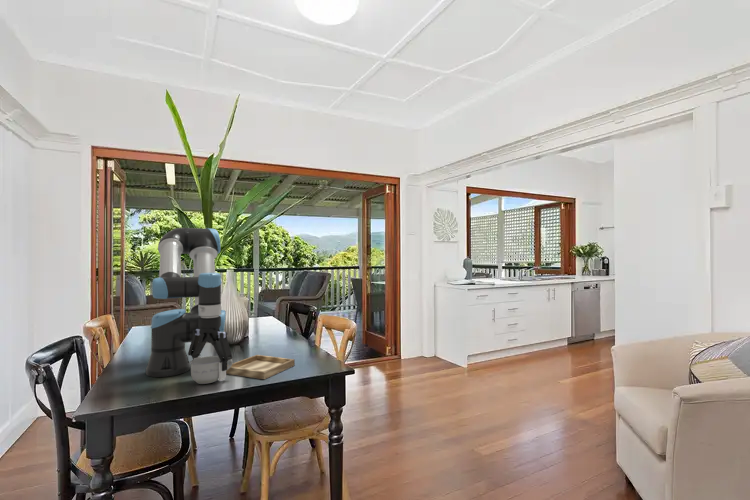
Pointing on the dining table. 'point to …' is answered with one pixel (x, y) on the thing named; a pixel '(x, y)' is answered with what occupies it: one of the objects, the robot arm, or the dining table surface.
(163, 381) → the dining table surface
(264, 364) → the serving tray
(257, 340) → the dining table surface
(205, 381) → the teacup
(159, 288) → the robot arm
